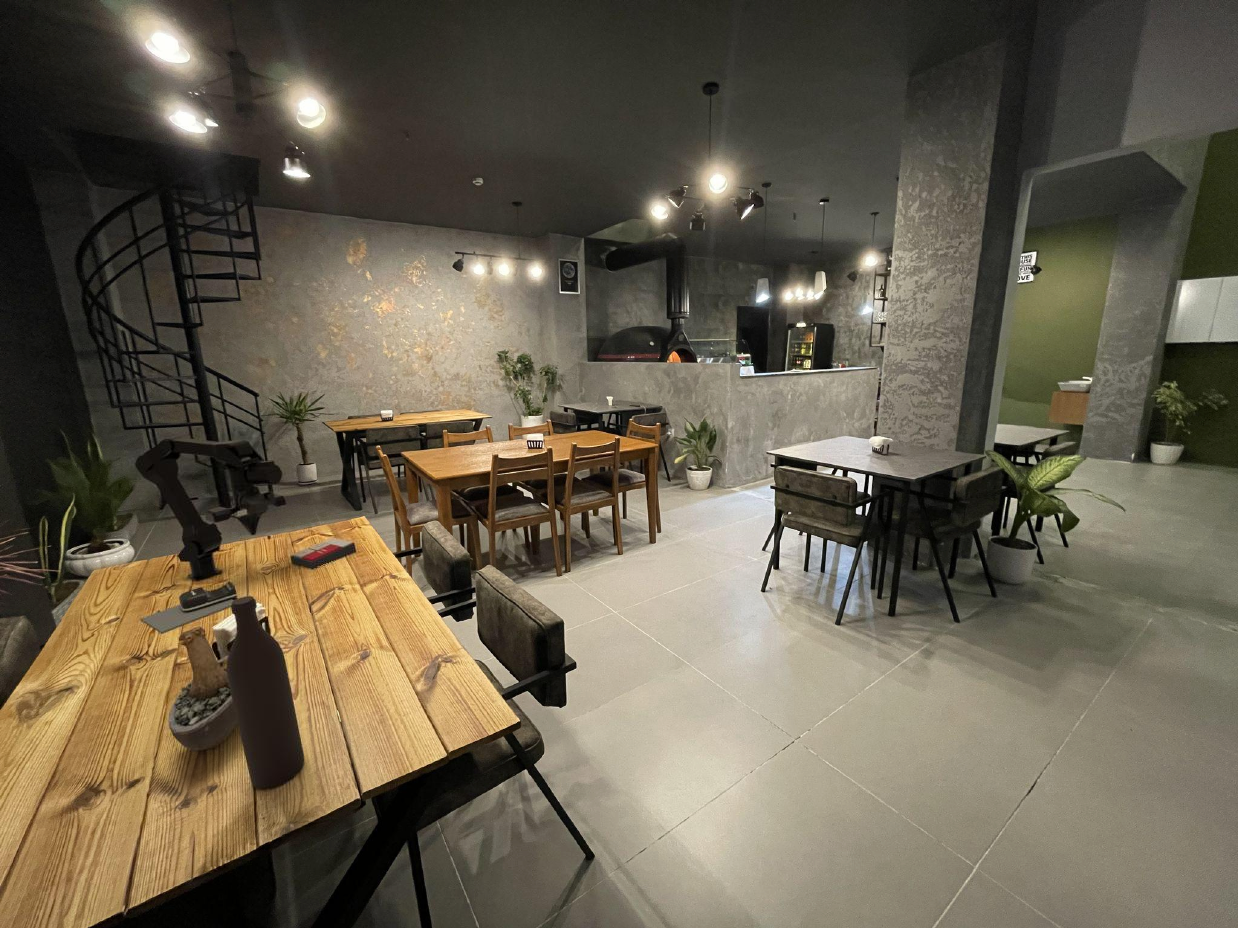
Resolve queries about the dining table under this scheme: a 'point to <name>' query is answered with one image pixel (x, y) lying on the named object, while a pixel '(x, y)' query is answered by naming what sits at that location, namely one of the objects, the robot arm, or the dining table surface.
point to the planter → (203, 697)
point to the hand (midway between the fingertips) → (253, 534)
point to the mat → (181, 616)
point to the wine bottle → (263, 701)
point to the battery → (206, 597)
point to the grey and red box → (323, 553)
